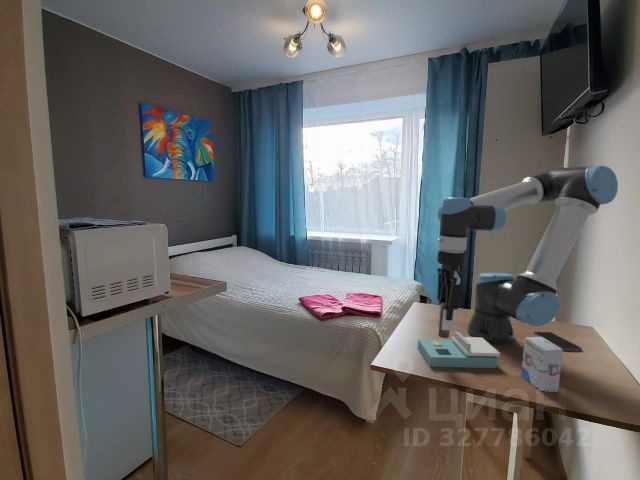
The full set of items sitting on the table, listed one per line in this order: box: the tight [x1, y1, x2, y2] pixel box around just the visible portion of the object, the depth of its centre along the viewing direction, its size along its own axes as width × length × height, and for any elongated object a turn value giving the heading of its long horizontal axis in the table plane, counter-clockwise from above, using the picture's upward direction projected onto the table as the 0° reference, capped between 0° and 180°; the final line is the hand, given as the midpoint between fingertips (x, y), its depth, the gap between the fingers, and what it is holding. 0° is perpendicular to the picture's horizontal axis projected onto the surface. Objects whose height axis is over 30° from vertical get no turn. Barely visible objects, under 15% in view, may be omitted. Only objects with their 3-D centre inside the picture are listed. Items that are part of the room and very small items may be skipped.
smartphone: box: [533, 331, 583, 352], centre depth 121 cm, size 7×1×15 cm
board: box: [417, 339, 499, 369], centre depth 106 cm, size 20×12×3 cm, turn 91°
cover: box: [451, 331, 501, 357], centre depth 106 cm, size 10×11×3 cm
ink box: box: [520, 336, 564, 393], centre depth 92 cm, size 9×5×12 cm, turn 5°
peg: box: [438, 303, 451, 339], centre depth 102 cm, size 3×3×10 cm
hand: (444, 327), depth 102 cm, fingers closed on peg, 2 cm apart
